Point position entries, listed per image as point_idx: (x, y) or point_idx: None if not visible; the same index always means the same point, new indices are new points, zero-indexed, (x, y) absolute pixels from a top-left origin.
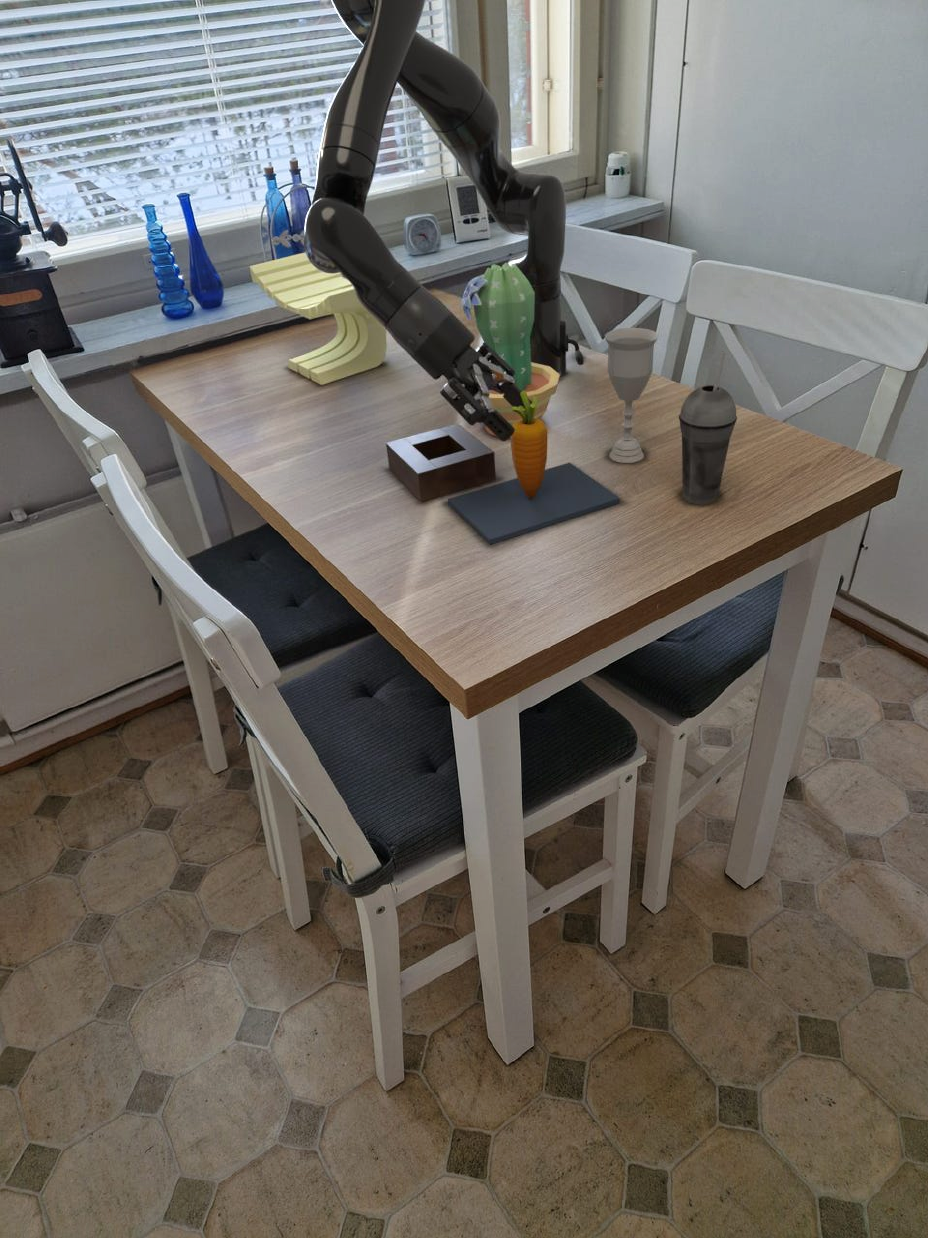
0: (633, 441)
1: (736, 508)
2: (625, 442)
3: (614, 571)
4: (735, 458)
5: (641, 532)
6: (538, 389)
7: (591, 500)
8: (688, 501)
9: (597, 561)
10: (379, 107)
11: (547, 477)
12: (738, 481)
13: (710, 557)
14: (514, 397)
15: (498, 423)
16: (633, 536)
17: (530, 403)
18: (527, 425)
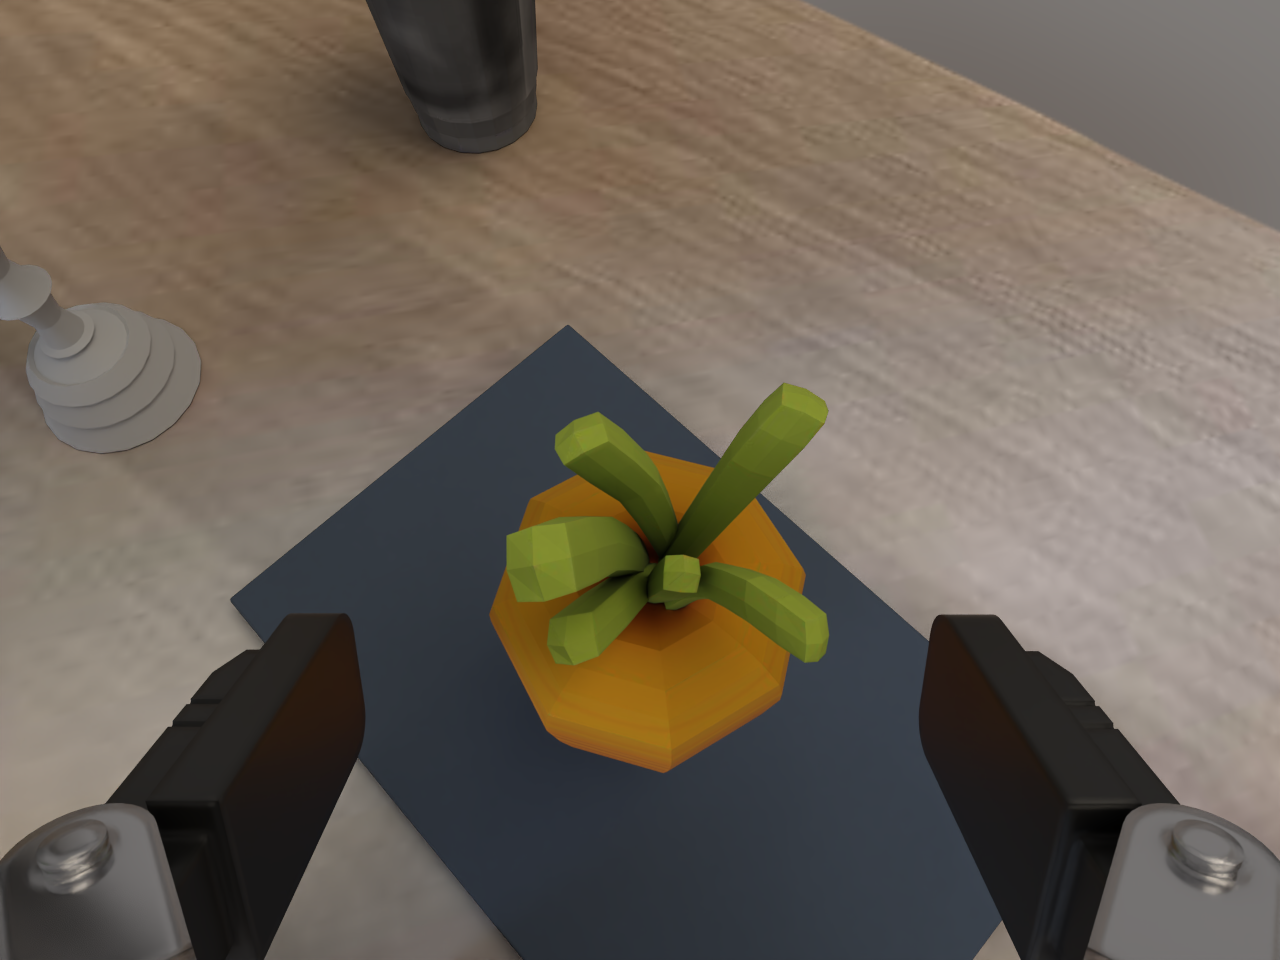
0: (91, 314)
1: (542, 17)
2: (102, 343)
3: (1057, 274)
4: (172, 43)
5: (772, 237)
6: None
7: (612, 421)
8: (523, 132)
9: (1019, 334)
10: None
11: (407, 671)
12: (352, 25)
13: (862, 51)
14: (288, 796)
15: (1115, 740)
16: (808, 255)
17: (342, 615)
18: (732, 560)
